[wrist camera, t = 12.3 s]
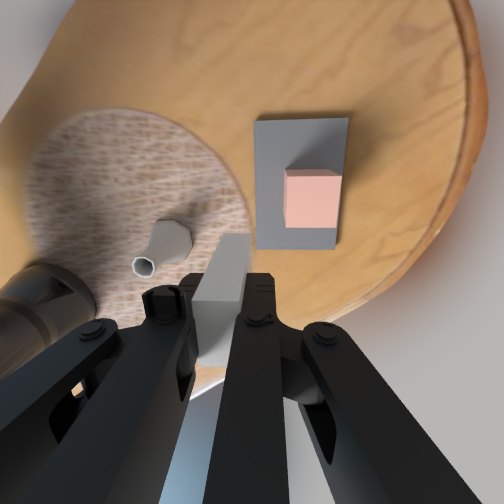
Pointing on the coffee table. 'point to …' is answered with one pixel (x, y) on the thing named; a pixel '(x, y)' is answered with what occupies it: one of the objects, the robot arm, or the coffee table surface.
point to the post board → (286, 158)
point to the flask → (163, 248)
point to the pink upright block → (311, 198)
